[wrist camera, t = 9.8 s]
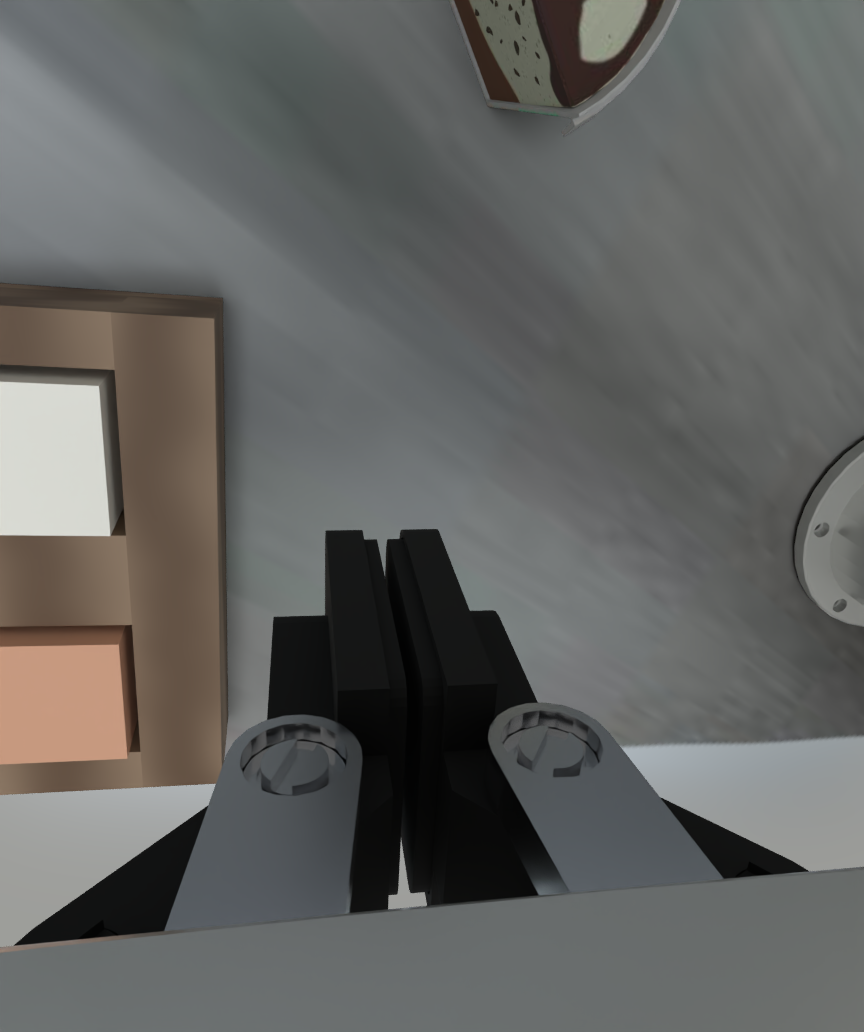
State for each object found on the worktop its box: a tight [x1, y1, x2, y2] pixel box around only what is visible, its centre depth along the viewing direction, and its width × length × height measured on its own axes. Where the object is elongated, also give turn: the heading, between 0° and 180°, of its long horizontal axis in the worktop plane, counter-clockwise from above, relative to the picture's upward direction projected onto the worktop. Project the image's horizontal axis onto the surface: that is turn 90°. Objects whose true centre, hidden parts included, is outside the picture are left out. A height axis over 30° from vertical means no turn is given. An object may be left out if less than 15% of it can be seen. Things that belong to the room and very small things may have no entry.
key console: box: [0, 283, 228, 795], centre depth 34 cm, size 14×22×5 cm, turn 175°
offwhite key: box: [0, 364, 124, 536], centre depth 30 cm, size 6×6×4 cm
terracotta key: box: [0, 625, 138, 764], centre depth 35 cm, size 6×6×4 cm
